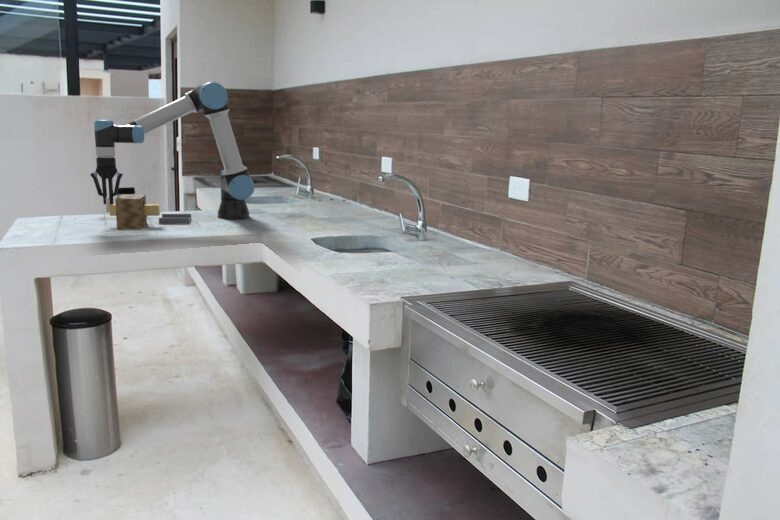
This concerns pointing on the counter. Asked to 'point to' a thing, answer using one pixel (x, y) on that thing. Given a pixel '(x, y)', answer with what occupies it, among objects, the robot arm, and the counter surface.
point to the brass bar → (147, 209)
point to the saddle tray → (175, 219)
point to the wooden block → (130, 211)
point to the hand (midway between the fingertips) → (109, 211)
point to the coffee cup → (126, 191)
